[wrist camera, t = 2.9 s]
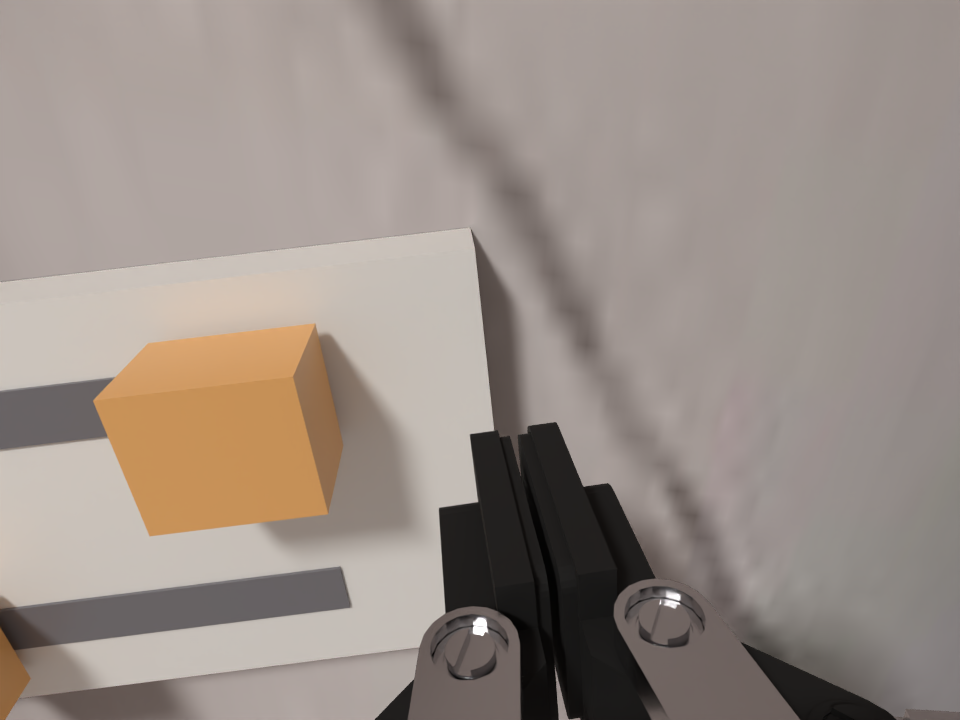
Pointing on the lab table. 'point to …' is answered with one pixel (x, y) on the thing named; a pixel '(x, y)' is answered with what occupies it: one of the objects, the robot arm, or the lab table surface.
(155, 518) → the switch tab
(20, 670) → the switch tab
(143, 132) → the lab table surface
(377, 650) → the switch panel
